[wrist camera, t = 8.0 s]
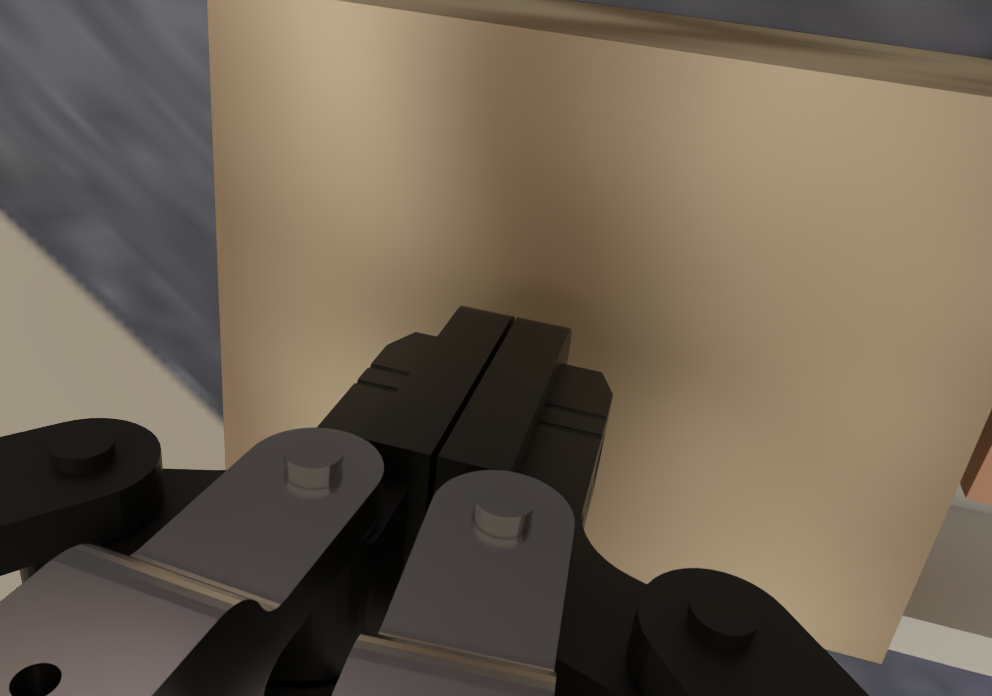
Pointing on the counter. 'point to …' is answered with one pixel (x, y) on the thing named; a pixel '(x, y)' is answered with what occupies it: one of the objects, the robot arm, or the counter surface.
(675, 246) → the wooden block
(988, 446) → the terracotta tile
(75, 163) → the counter surface
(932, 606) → the tray
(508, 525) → the robot arm
